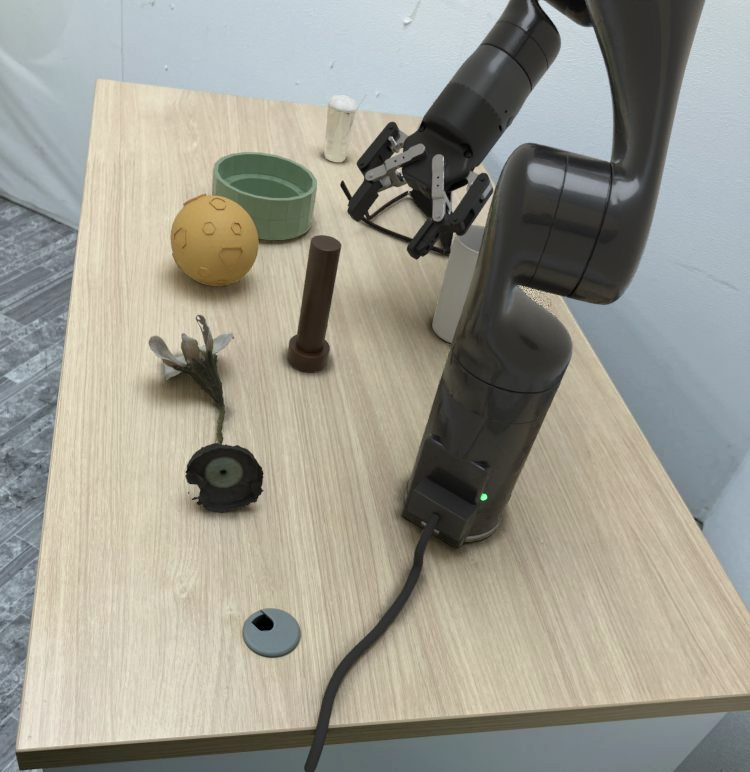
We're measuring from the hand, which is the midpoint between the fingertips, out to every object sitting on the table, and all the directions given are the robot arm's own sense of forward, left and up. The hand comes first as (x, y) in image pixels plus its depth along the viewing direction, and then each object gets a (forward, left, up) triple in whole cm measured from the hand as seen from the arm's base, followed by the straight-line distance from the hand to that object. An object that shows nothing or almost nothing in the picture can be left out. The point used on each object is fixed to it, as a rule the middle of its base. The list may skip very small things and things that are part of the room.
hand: (381, 235), depth 84 cm
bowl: (+13, +24, -13) cm, 30 cm away
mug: (+12, -7, -13) cm, 18 cm away
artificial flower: (-24, +2, -13) cm, 28 cm away
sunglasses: (+27, +12, -13) cm, 32 cm away
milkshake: (+38, +29, -13) cm, 49 cm away
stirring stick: (-8, +1, -13) cm, 15 cm away
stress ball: (-4, +19, -13) cm, 23 cm away
